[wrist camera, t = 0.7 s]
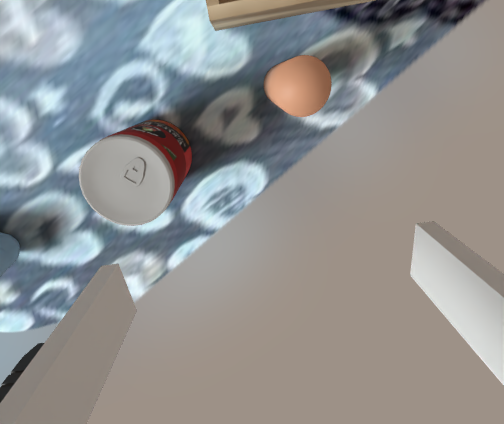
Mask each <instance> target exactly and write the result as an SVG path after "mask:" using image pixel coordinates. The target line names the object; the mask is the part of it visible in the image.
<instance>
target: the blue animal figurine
mask: <svg viewBox="0 0 504 424" xmlns="http://www.w3.org/2000/svg"><path fill="white" fill-rule="evenodd" d="M19 250H20V246H19V243H18V241H17V240H16V239H15V238H14V237H12V236H11V235H8V234H4V233H0V277H1V276H2V275H3V274H4V273H5V271H6V270H7V269H8V268H9V267H10V266H11V265H12V264H13V263H14V262H15V261H16V259H17V258H18V256H19Z"/></svg>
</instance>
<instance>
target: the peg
mask: <svg viewBox="0 0 504 424" xmlns="http://www.w3.org/2000/svg"><path fill="white" fill-rule="evenodd" d="M264 91H265V94H266V96H267V97H268V98H269V99H270V100H271V101H272V102H273V103H275V104H276V105H277V106H279V107H280V108H281V109H283V110H284V111H285V112H287V113H288V114H290V115H293V116H297V117H306V116H309V115H312V114H314V113H316V112H317V111H319V110H320V109H321V108H322V107H323V106H324V104H325V103H326V101H327V100H328V98H329V95H330V91H331V77H330V73H329V71H328V69H327V67H326V66H325V64H324V63H323V62H322V61H321V60H319V59H318V58H316V57H313V56H309V55H301V56H297V57H294V58H292V59H289V60H287V61H285V62H282V63H280V64H278V65H275V66H274V67H272V68H271V69H270V70H269V71H268V72H267V74H266V76H265V79H264Z"/></svg>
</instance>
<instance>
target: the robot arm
mask: <svg viewBox="0 0 504 424" xmlns="http://www.w3.org/2000/svg"><path fill="white" fill-rule="evenodd" d="M410 275H411V277H412V278H413V279H414V280H415V281H416V283H417V284H418V285H419V286H420V287H421V288H422V290H423V291H424V292H425V293H426V294H427V296H428V297H429V298H430V299H431V300H432V301H433V303H434V304H435V305H436V306H437V307H438V308H439V310H440V311H441V312H442V313H443V314H444V316H445V317H446V318H447V319H448V320H449V321H450V323H451V324H452V325H453V326H454V327H455V329H456V330H457V331H458V332H459V333H460V335H461V336H462V337H463V338H464V339H465V340H466V342H467V343H468V344H469V345H470V346H471V347H472V349H473V350H474V351H475V352H476V353H477V355H478V356H479V357H480V358H481V359H482V360H483V362H484V363H485V364H486V365H487V366H488V368H489V369H490V370H491V371H492V372H493V373H494V375H495V376H496V377H497V378H498V379H499V381H500V382H501V383H502V384H503V385H504V274H503V273H502V272H500V271H499V270H498V269H497V268H495V267H494V266H493V265H491V264H490V263H489V262H487V261H486V260H485V259H483V258H482V257H481V256H479V255H478V254H477V253H475V252H474V251H473V250H471V249H470V248H469V247H467V246H466V245H465V244H463V243H462V242H461V241H460V240H458V239H457V238H455V237H454V236H453V235H452V234H450V233H449V232H448V231H446V230H445V229H443V228H442V227H441V226H440V225H438V224H437V223H436V222H434V221H432V222H424V223H417V224H416V228H415V237H414V247H413V256H412V264H411V274H410ZM136 312H137V310H136V307H135V305H134V302H133V300H132V297H131V295H130V292H129V290H128V287H127V285H126V282H125V279H124V277H123V274H122V272H121V269H120V267H119V264H112V265H105V266H101V267H100V269H99V270H98V271H97V273H96V274H95V275H94V277H93V278H92V279H91V281H90V282H89V283H88V285H87V286H86V288H85V289H84V290H83V292H82V293H81V294H80V296H79V297H78V298H77V300H76V301H75V302H74V304H73V305H72V307H71V308H70V309H69V311H68V312H67V313H66V315H65V316H64V317H63V319H62V320H61V321H60V323H59V324H58V326H57V327H56V328H55V330H54V331H53V332H52V334H51V335H50V336H49V338H48V339H47V341H46V342H45V343H39V344H37V345H36V346H35V347H34V348H33V349H31V350H30V351H29V352H28V353H27V354H26V355H24V357H22V359H21V360H20V361H19V363H18V364H17V365H16V366H15V368H14V369H13V370H12V372H11V375H8V377H7V378H6V379H5V380H4V382H3V383H2V386H1V387H0V424H87V422H88V419H89V417H90V415H91V413H92V410H93V408H94V406H95V404H96V401H97V399H98V397H99V395H100V392H101V390H102V388H103V386H104V384H105V381H106V379H107V377H108V374H109V372H110V370H111V368H112V366H113V363H114V361H115V359H116V357H117V354H118V352H119V350H120V348H121V345H122V343H123V341H124V339H125V336H126V334H127V332H128V330H129V327H130V325H131V323H132V320H133V318H134V316H135V314H136Z"/></svg>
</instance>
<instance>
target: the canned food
mask: <svg viewBox="0 0 504 424" xmlns="http://www.w3.org/2000/svg"><path fill="white" fill-rule="evenodd" d="M191 162H192V152H191V147H190V144H189V142H188V140H187V138H186V136H185V135H184V134H183V133H182V132H181V130H180V129H178V128H177V127H176V126H174V125H173V124H171V123H169V122H166V121H162V120H148V121H144V122H142V123H139V124H137V125H134V126H132V127H129V128H127V129H125V130H122V131H120V132H117V133H115V134H112V135H110V136H108V137H106V138H103V139H102V140H100V141H99V142H97V143H96V144H94V145H93V146H92V147H91V148H90V149H89V150H88V151H87V152H86V154H85V156H84V157H83V159H82V162H81V165H80V169H79V181H80V187H81V190H82V193H83V195H84V197H85V199H86V200H87V202H88V203H89V205H90V206H91V207H92V208H93V209H94V210H95V211H96V212H97V213H98V214H99V215H101V216H102V217H104V218H106V219H107V220H109V221H112V222H114V223H117V224H121V225H129V226H135V225H142V224H145V223H148V222H151V221H152V220H154V219H156V218H157V217H158V216H160V215H161V214H162V213H163V212H164V211H165V210H166V208H167V207H168V206H169V204H170V202H171V201H172V200H173V198H174V196H175V194H176V193H177V191H178V189H179V187H180V186H181V184H182V182H183V180H184V178H185V177H186V175H187V173H188V171H189V169H190V166H191Z"/></svg>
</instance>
